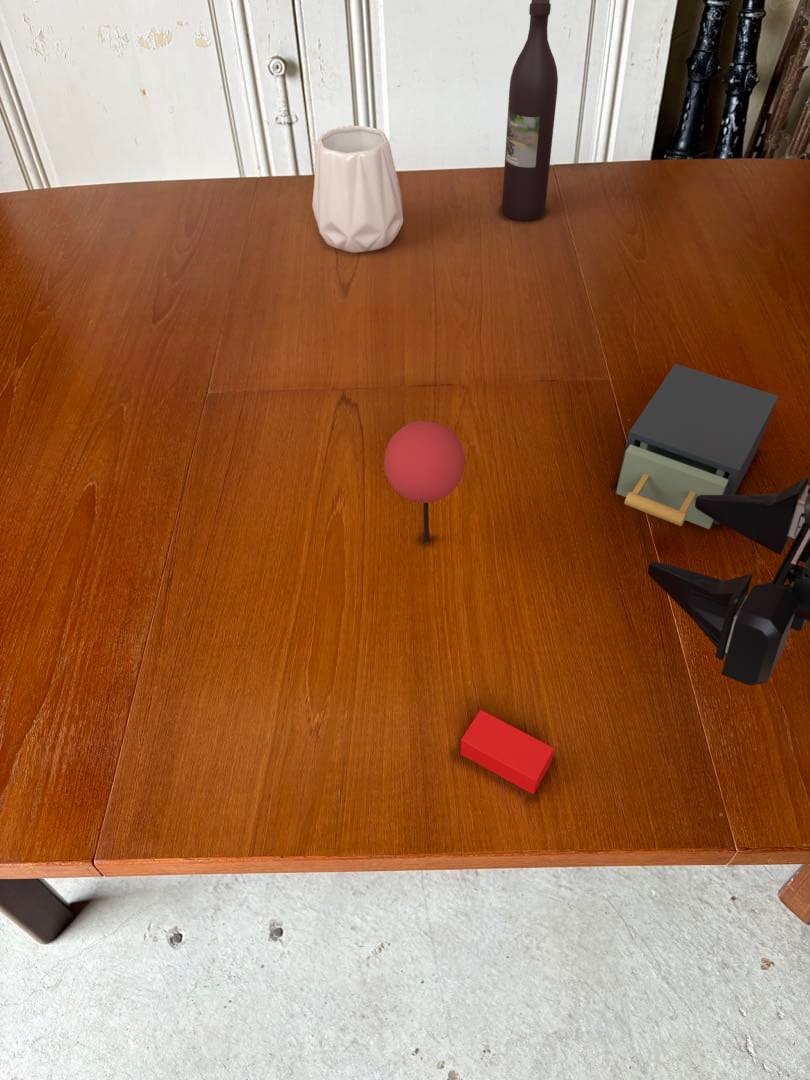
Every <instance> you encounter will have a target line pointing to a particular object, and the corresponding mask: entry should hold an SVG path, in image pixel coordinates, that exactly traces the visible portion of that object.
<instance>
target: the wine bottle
mask: <svg viewBox="0 0 810 1080" xmlns="http://www.w3.org/2000/svg"><path fill="white" fill-rule="evenodd" d="M550 1H551V0H531V1H530V2H531V3H530V4H529V8H528V14H529V29H528V34H527V38H526V41H525V43H524V45H523V48H522V49H521V51H520V53H519V54H518V57H517V58H516V61H515V63H514V65H513V67H512V70H511V76H510V82H509V89H508V105H507V121H506V135H505V136H506V137H505V153H504V168H503V169H504V170H503V185H502V198H501V199H502V200H501V211H502V213H503V215H504V216H506V217H507V218H509V219H511V220H515V221H522V222H523V221H533V220H536V219H539V218H540V217H542V216H543V215H544V213H545V211H546V204H547V195H548V186H549V176H550V175H549V174H550V165H551V157H552V148H553V147H552V146H553V138H554V137H553V135H554V129H555V128H554V127H555V126H554V125H555V119H556V118H555V117H556V107H557V99H558V98H557V97H558V87H559V76H558V67H557V64H556V61H555V57H554V54H553V52H552V50H551V47H550V43H549V40H548V39H549V37H548V23H549V16H550V14H551V7H552V4H551V2H550Z"/></svg>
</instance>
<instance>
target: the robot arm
mask: <svg viewBox="0 0 810 1080" xmlns="http://www.w3.org/2000/svg"><path fill="white" fill-rule="evenodd" d="M809 480H810V477H809V476H804V477H801V478H800V479H799V480H798V481H797V482H796V483H793V484H792V485H790V486H788V487H787V488H785V489H783V490H781V491H778V492H775V493H762V494H735V495H699V496H698V497H697V498H696V502H695V508H696V509H698V510H699V511H701V512H703V513H704V514H706V515H707V516H709V517H710V518H712V519H714V520H716V521H717V522H719V523H720V524H721V525H723V526H726V528H728V529H731V530H732V531H734V532H735V533H737V534H740V535H742V536H743V537H746V538H747V539H749V540H751V541H753V542H755V543H756V544H758V545H760V546H762V547H764V548H766V549H767V550H770V551H771V552H773V553H775V554H776V555H779V556H782V554H783V553H784V550H785V549H786V547H787V545H788V543H789V541H790V540H793V541H792V543H791V545H790V547H789V548H788V550H787V552H786V555H785V557H784V558H783V560H782V562H781V564H780V566H779V568H778V569H777V571H776V573H775V574H774V576H773V579H772V580H771V582H766V583H759V584H754V585H752V587H751V589H750V585H751V581H752V579H753V574H745V575H742V576H737V577H734V578H731V579H726V580H725V579H719V578H717V577H713V576H710V575H706V574H704V573H701V572H696V571H693V570H690V569H687V568H683V567H680V566H677V565H674V564H669V563H665V562H659V561H654V560H652V561H650V562H649V564H648V567H647V575H648V576H649V577H650V578H651V579H652V580H653V581H654V582H655V583H656V584H657V585H658V586H659V587H660V588H661V589H662V590H663V591H664V592H665V593H666V594H668V596H669V597H670V598H671V599H672V600H673V601H674V602H675V603H676V604H677V605H678V606H679V607H680V608H681V609H682V610H683V611H684V612H685V613H686V614H687V615H688V616H689V617H690V618H691V619H692V621H693V622H694V623H695V624H696V625H697V627H698V628H699V629H700V630H701V631H702V632H703V633H704V635H705V636H706V637H707V638H708V640H709V641H710V642H711V643H712V644H713V645H714V647H715V648H716V651H715V656H714V657H715V658H716V659H718V660H720V661H724V663H723V667H722V670H721V675H722V676H725V678H729V679H731V680H734V681H736V682H739V683H741V684H743V685H746V686H749V687H751V686H756V685H757V686H758V685H762V684H767V683H768V682H769V680H770V679H771V676H772V673H773V672H774V670H775V668H776V666H777V664H778V661H779V660H780V657H781V655H782V654H783V651H784V649H785V646H786V642H787V639H788V636H789V634H790V630H794V631H797V632H801V631H802V629H803V628H804V626H805V623H806V622H809V623H810V485H808V483H809ZM800 562H801V563H805V564H804V565H803V566H802V565H799V563H800ZM749 589H750V591H749ZM748 592H749V593H748ZM724 659H725V660H724Z"/></svg>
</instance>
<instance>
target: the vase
mask: <svg viewBox="0 0 810 1080" xmlns="http://www.w3.org/2000/svg"><path fill="white" fill-rule="evenodd" d="M315 145H316V146H315V157H314V158H315V160H314V181H313V193H312V203H311V204H312V205H311V206H312V211H313V215H314V219H315V221H316V224H317V228H318V233H319V235H321V238H322V239H323V241H324V242H325V243H326V245H328V246H330V247H332V248H333V249H336V250H341V251H345V252H347V253H352V254H357V253H364V252H373V251H376V250H382V249H383V248H386V247H388V246H389V245H390V244H392V242H393V241H394V240H395V239H396V237H397V236H398V235H399V232H400V231H401V229H402V226H403V223H404V209H403V195H402V190H401V185H400V182H399V178H398V174H397V171H396V166H395V161H394V158H393V153H392V148H391V144H390V141H389V139H388V138H387V135H386V133H385V132H384V131H382V130H381V129H378V128H376V127H369V126H368V125H348V126H340V127H336V128H332V129H329V130H328V131H326V133H323V134H322V135H321V136H320V137H319V138H318V139H317V142H316V144H315Z"/></svg>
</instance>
